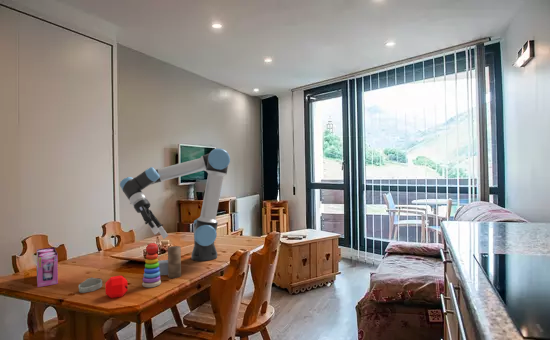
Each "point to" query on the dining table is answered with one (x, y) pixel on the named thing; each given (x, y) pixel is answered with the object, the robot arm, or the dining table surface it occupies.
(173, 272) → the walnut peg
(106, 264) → the dining table surface
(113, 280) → the ball
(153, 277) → the stacking toy
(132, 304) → the dining table surface
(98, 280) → the grey oval piece
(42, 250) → the gum box
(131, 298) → the dining table surface
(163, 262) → the grey cube
